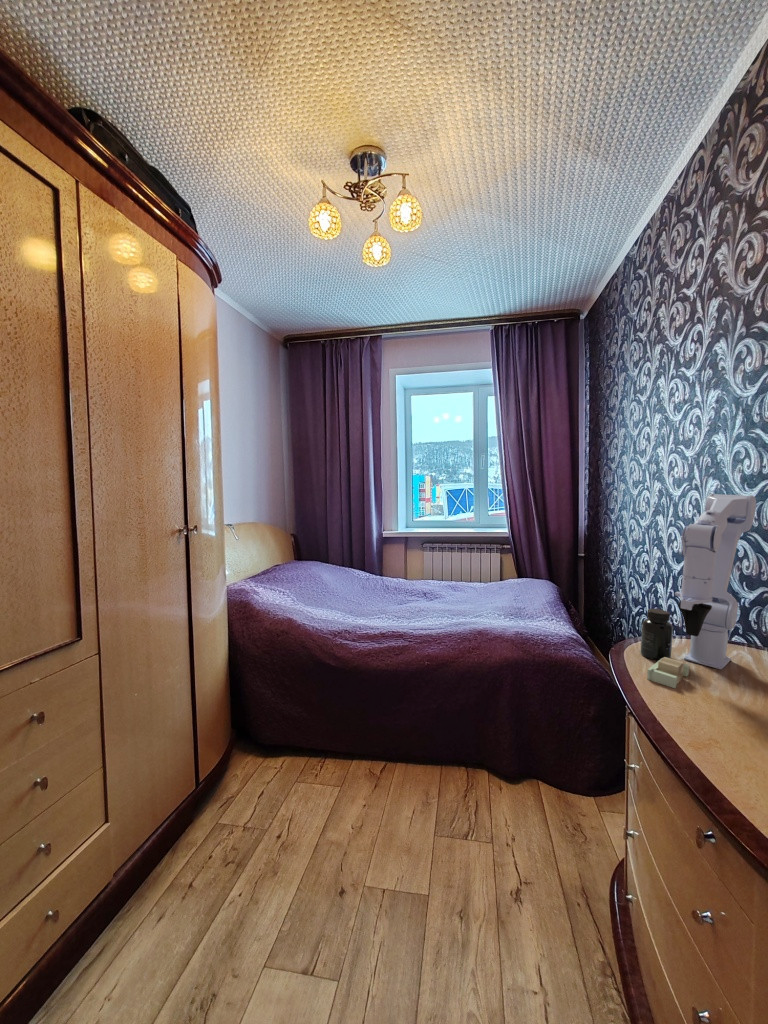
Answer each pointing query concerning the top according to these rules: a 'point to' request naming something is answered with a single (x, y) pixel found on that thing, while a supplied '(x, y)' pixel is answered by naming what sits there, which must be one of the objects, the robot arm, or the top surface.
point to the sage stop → (665, 675)
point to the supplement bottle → (656, 635)
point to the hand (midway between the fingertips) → (692, 634)
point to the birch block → (671, 667)
